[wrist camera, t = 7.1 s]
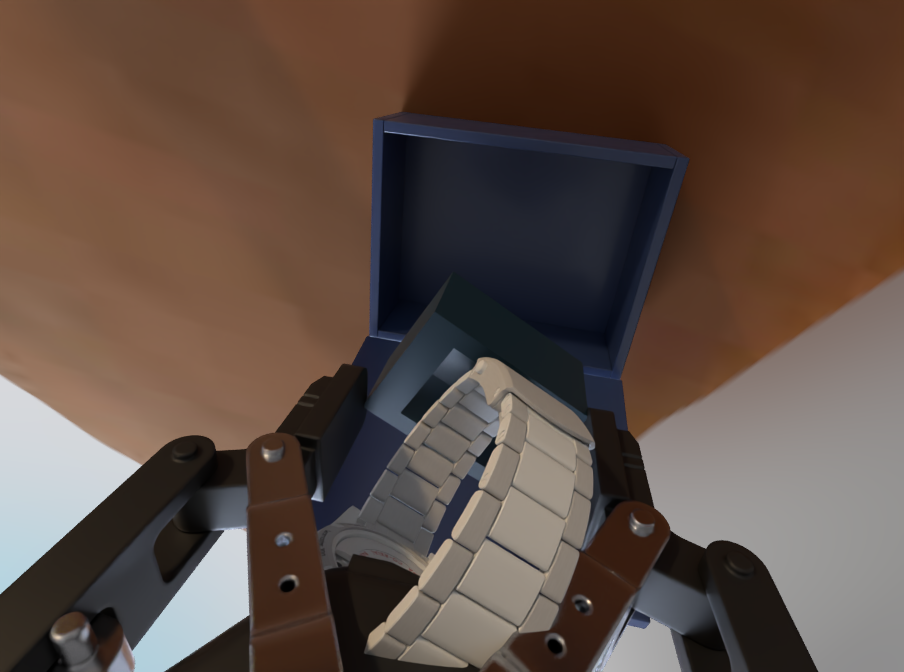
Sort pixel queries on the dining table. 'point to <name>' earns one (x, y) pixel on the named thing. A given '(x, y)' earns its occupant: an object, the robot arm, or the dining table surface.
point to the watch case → (520, 227)
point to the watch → (484, 458)
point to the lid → (385, 440)
